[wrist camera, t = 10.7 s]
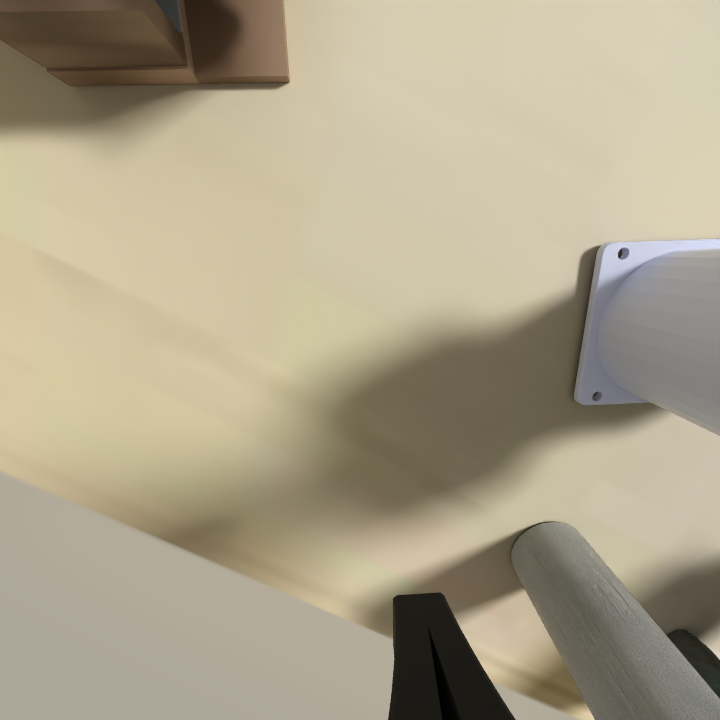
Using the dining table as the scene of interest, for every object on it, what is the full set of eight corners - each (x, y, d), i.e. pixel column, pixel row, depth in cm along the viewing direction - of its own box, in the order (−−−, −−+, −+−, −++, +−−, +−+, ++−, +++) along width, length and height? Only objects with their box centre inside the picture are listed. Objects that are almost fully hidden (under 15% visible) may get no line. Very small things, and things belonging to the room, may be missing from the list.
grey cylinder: (548, 588, 22) (709, 852, 12) (494, 560, 21) (622, 821, 12) (597, 540, 21) (815, 785, 11) (543, 508, 20) (727, 745, 11)
